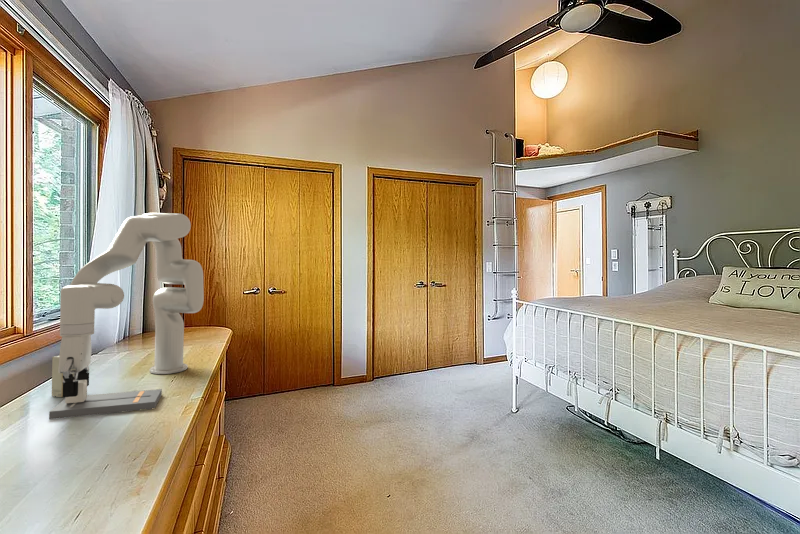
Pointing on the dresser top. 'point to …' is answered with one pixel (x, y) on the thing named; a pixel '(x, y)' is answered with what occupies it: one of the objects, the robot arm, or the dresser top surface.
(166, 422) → the dresser top surface
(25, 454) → the dresser top surface
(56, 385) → the skincare box
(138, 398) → the fader board
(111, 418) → the dresser top surface
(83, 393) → the fader tab
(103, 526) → the dresser top surface
